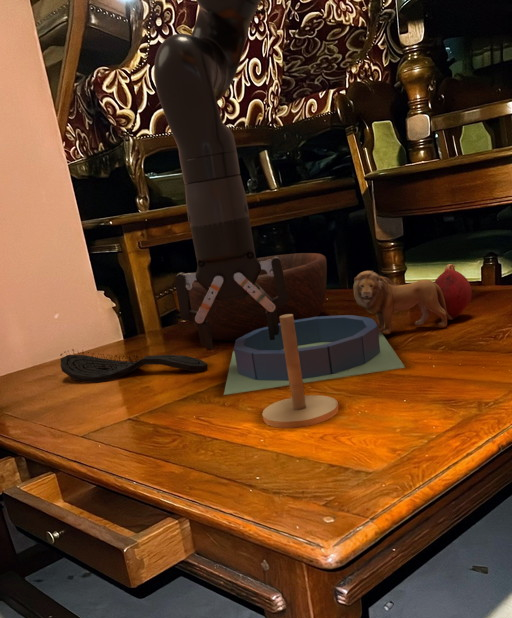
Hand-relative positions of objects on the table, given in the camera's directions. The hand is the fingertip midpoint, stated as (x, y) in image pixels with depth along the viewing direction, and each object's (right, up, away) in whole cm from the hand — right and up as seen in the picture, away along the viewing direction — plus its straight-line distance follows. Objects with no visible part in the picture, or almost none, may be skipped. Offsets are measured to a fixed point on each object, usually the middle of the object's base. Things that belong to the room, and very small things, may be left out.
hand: (241, 344), depth 93 cm
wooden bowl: (+3, +7, +27) cm, 28 cm away
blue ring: (+9, -2, 0) cm, 9 cm away
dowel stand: (+7, -11, -19) cm, 23 cm away
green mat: (+9, -2, +1) cm, 10 cm away
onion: (+31, +5, +10) cm, 33 cm away
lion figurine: (+23, +3, +7) cm, 24 cm away
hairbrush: (-16, -3, +11) cm, 20 cm away
